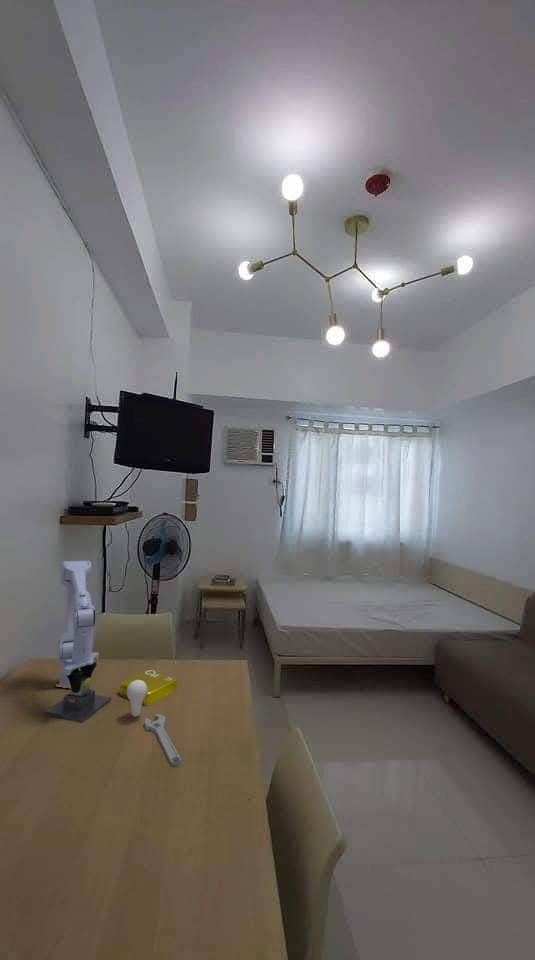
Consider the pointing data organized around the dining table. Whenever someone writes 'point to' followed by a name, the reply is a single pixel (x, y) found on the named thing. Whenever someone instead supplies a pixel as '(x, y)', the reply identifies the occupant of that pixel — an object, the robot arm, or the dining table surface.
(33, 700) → the dining table surface
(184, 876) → the dining table surface
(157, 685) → the element tile
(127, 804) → the dining table surface
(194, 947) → the dining table surface
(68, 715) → the stand base
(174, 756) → the adjustable wrench
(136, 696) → the lightbulb
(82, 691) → the stand column
